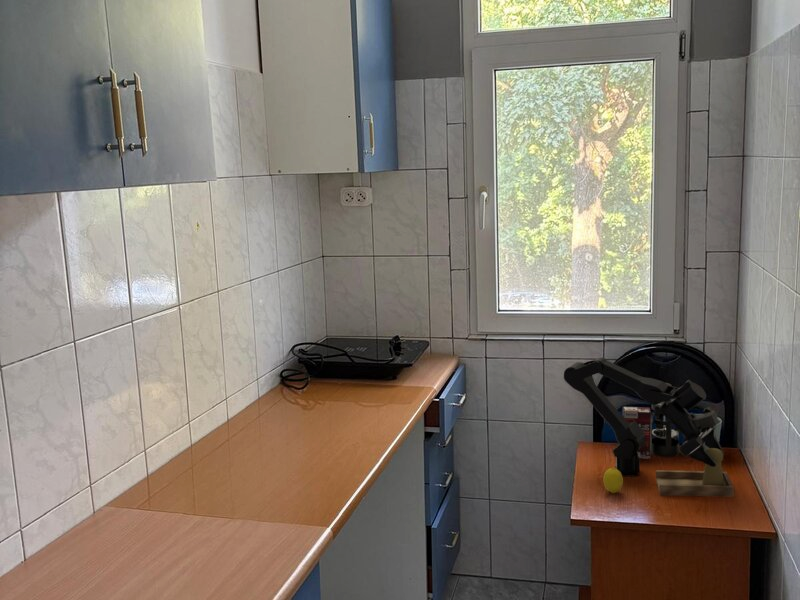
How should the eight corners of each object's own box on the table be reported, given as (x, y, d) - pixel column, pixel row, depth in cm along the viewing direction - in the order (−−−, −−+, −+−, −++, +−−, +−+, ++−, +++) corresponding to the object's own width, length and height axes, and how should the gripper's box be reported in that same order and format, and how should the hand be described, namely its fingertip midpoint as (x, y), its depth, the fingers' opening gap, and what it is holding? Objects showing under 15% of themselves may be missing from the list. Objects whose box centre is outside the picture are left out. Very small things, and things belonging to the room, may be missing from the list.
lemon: (623, 490, 234) (623, 464, 232) (622, 498, 228) (622, 472, 227) (604, 488, 235) (603, 463, 234) (602, 496, 230) (602, 470, 229)
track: (659, 494, 229) (659, 485, 228) (655, 479, 239) (655, 470, 238) (733, 497, 225) (733, 487, 224) (726, 481, 235) (726, 471, 234)
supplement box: (622, 458, 256) (622, 411, 252) (622, 452, 260) (622, 406, 257) (651, 459, 254) (651, 411, 250) (649, 453, 258) (650, 406, 255)
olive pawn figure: (728, 488, 228) (729, 452, 226) (708, 490, 227) (708, 454, 225) (717, 479, 234) (718, 444, 232) (698, 482, 233) (698, 446, 231)
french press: (684, 457, 253) (685, 388, 249) (654, 458, 254) (654, 389, 249) (672, 443, 265) (673, 377, 260) (644, 444, 265) (644, 378, 261)
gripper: (691, 412, 220) (733, 456, 216) (708, 392, 235) (747, 433, 231) (662, 434, 226) (702, 478, 222) (681, 413, 241) (718, 454, 237)
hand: (718, 460), depth 228 cm, fingers open, 9 cm apart
